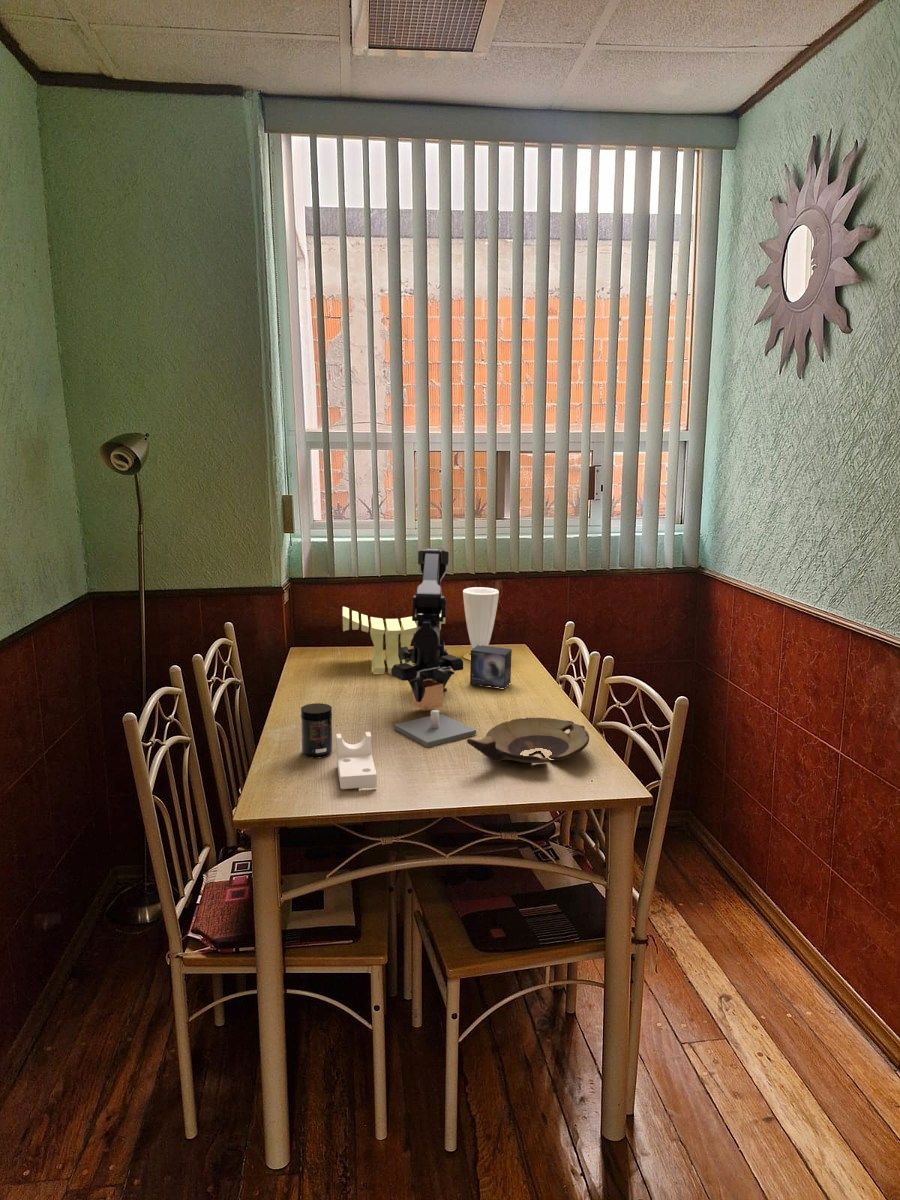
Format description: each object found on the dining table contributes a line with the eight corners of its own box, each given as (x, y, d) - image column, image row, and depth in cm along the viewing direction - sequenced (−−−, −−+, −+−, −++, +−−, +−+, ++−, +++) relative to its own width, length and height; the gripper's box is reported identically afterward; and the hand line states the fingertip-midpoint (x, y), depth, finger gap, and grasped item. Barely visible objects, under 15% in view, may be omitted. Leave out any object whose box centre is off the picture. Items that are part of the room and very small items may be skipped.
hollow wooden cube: (430, 700, 210) (430, 678, 209) (443, 706, 206) (443, 683, 205) (412, 704, 207) (412, 682, 206) (424, 710, 203) (425, 687, 201)
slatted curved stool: (438, 658, 257) (439, 603, 253) (444, 672, 241) (445, 614, 238) (343, 660, 253) (342, 604, 249) (343, 674, 237) (342, 615, 234)
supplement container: (325, 745, 183) (324, 701, 181) (337, 755, 178) (337, 710, 176) (297, 751, 180) (295, 706, 178) (308, 761, 174) (307, 715, 172)
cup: (498, 661, 254) (500, 594, 249) (461, 661, 254) (462, 593, 249) (496, 652, 265) (498, 587, 261) (461, 651, 265) (462, 586, 261)
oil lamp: (608, 770, 172) (610, 736, 170) (472, 782, 165) (473, 747, 163) (568, 733, 193) (570, 703, 192) (446, 742, 186) (447, 711, 185)
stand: (441, 718, 202) (441, 698, 201) (476, 734, 191) (476, 713, 190) (393, 729, 194) (394, 708, 193) (427, 747, 183) (427, 725, 182)
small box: (468, 685, 229) (469, 649, 227) (476, 679, 235) (477, 644, 233) (504, 690, 225) (505, 653, 223) (511, 683, 231) (512, 648, 229)
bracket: (336, 767, 172) (336, 733, 170) (370, 765, 173) (370, 731, 172) (340, 793, 159) (340, 757, 158) (376, 791, 161) (376, 755, 159)
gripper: (439, 629, 215) (438, 685, 218) (379, 638, 204) (379, 697, 207) (465, 637, 206) (464, 696, 209) (403, 648, 195) (403, 709, 198)
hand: (427, 699), depth 206 cm, fingers closed on hollow wooden cube, 6 cm apart
